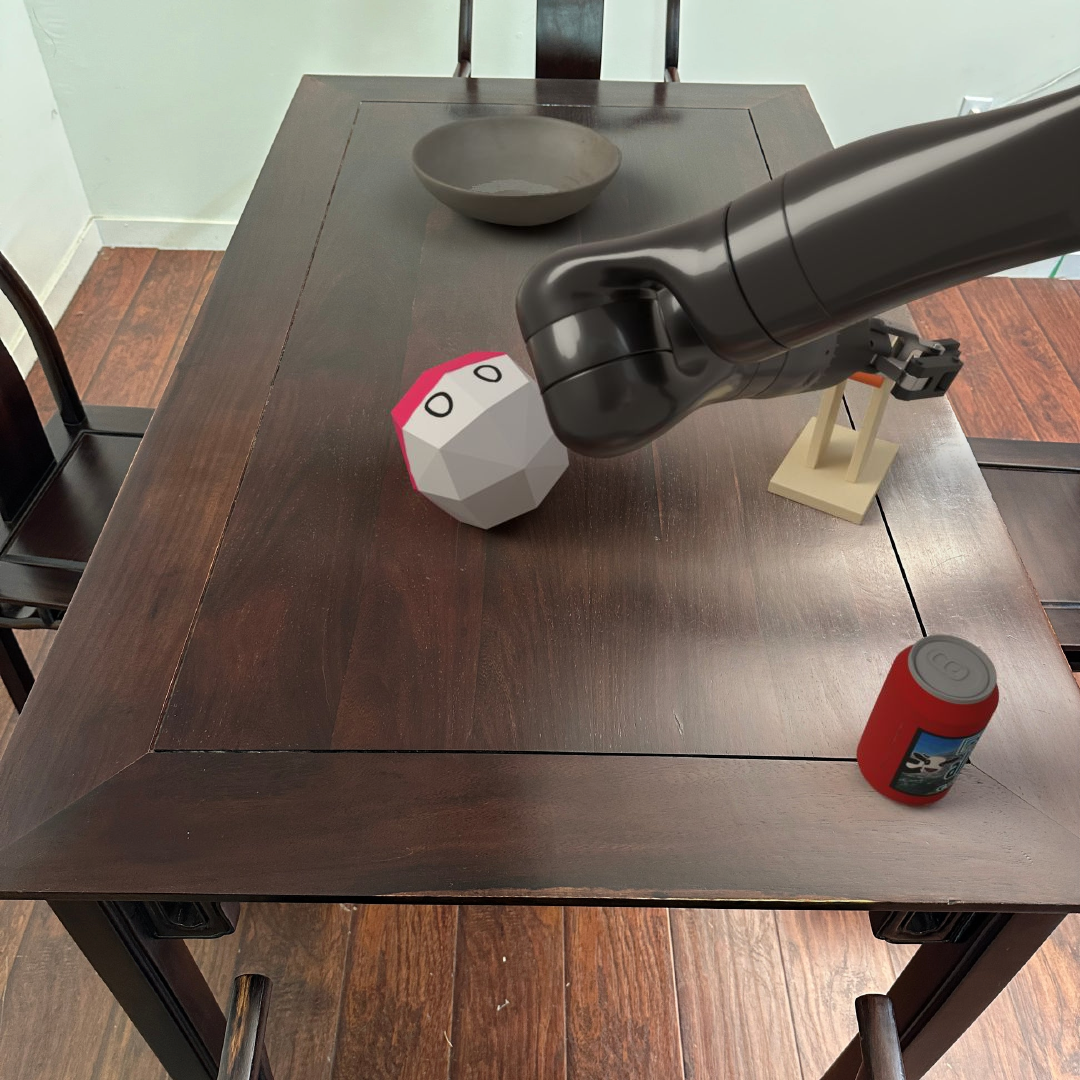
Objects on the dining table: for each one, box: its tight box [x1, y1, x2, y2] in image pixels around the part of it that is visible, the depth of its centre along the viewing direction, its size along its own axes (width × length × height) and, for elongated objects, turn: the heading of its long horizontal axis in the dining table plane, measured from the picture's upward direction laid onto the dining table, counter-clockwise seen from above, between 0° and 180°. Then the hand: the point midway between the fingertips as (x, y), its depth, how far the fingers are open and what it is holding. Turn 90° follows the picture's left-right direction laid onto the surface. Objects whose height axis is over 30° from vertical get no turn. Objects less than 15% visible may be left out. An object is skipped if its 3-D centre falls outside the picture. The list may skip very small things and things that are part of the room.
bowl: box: [410, 114, 623, 227], centre depth 131 cm, size 27×28×8 cm
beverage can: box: [856, 634, 1000, 807], centre depth 65 cm, size 7×7×12 cm
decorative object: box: [390, 350, 570, 530], centre depth 86 cm, size 15×15×15 cm
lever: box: [848, 372, 885, 388], centre depth 81 cm, size 12×6×2 cm, turn 149°
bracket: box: [767, 336, 901, 526], centre depth 89 cm, size 12×9×15 cm
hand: (900, 323), depth 70 cm, fingers open, 8 cm apart
